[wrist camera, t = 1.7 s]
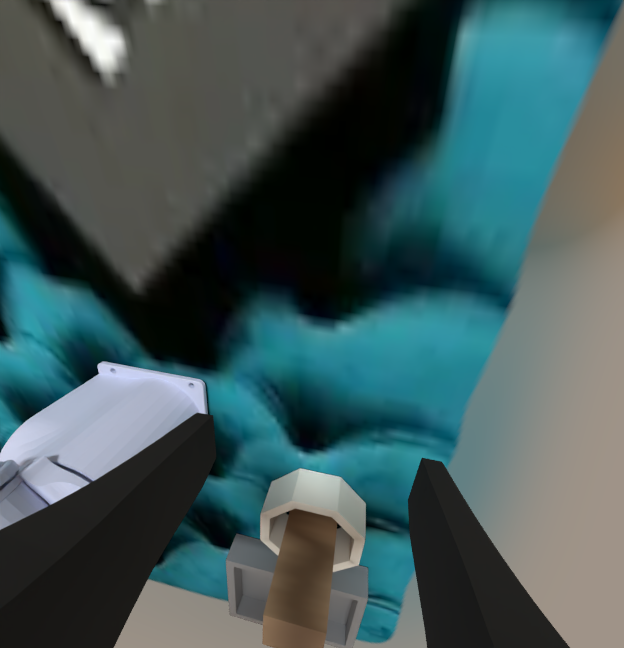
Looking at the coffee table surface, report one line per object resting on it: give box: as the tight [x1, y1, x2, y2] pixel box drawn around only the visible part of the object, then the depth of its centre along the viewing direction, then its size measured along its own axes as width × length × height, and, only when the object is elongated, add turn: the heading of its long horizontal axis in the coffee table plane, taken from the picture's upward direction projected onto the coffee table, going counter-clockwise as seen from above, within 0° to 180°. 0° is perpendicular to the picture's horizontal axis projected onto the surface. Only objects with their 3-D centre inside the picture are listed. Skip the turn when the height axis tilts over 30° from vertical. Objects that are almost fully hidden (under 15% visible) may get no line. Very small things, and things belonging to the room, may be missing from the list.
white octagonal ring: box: [260, 468, 366, 572], centre depth 25 cm, size 9×9×3 cm
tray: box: [226, 534, 368, 648], centre depth 31 cm, size 14×11×2 cm
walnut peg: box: [263, 508, 337, 648], centre depth 22 cm, size 4×4×9 cm
